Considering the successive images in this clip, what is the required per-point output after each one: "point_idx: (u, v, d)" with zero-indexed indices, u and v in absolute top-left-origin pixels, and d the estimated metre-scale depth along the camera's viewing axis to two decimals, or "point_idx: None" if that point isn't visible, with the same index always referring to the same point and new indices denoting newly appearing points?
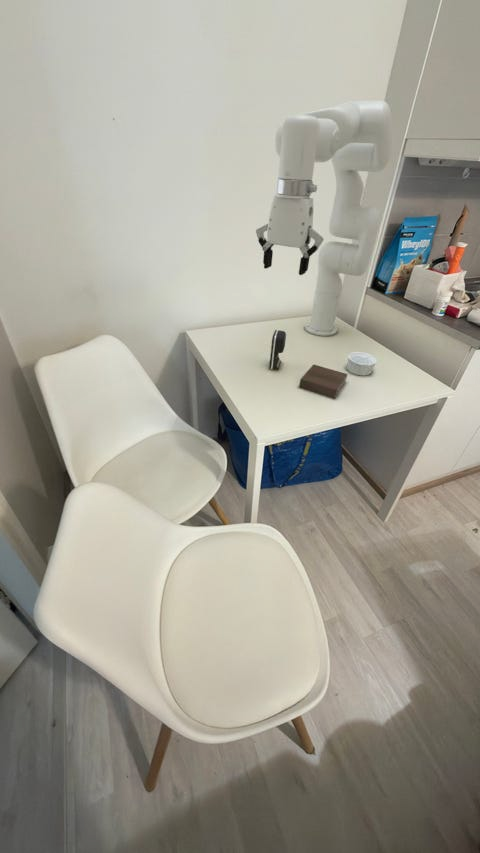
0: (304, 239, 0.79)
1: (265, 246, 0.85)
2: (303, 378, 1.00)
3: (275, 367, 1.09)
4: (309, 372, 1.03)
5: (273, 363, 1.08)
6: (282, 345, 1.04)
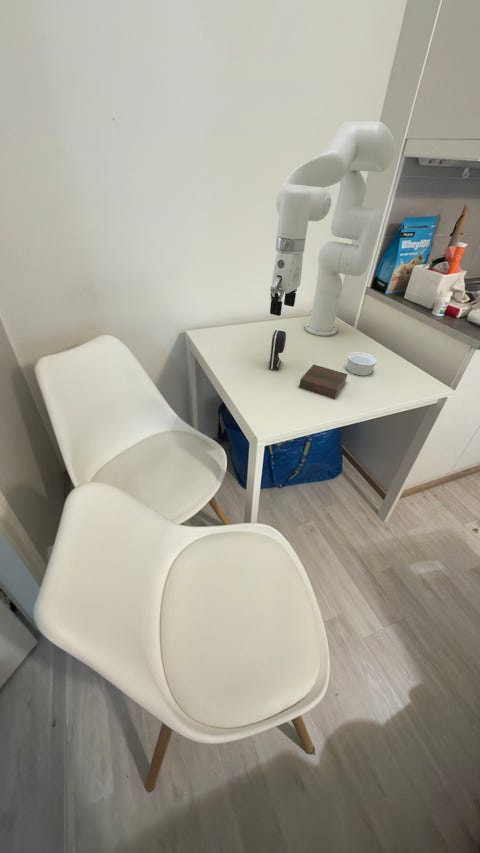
0: (272, 284, 0.92)
1: None
2: (303, 378, 1.00)
3: (275, 367, 1.09)
4: (309, 372, 1.03)
5: (273, 363, 1.08)
6: (282, 345, 1.04)
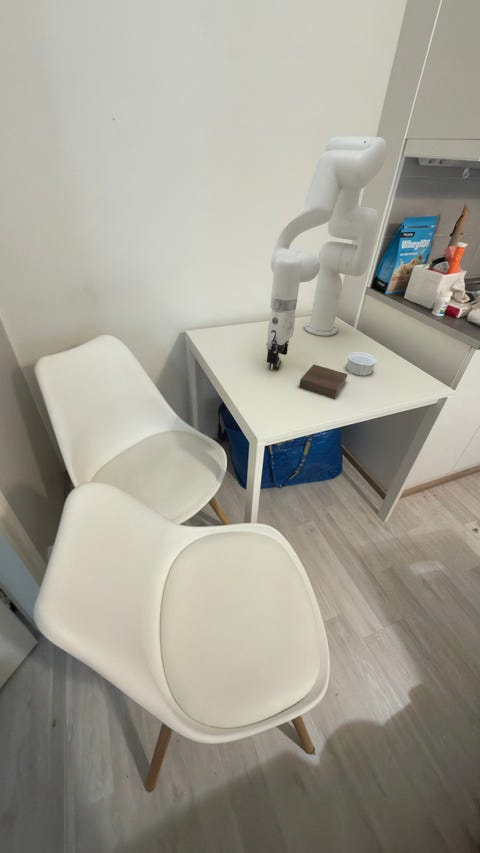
0: None
1: None
2: (303, 378, 1.00)
3: (275, 367, 1.09)
4: (309, 372, 1.03)
5: None
6: (282, 345, 1.04)
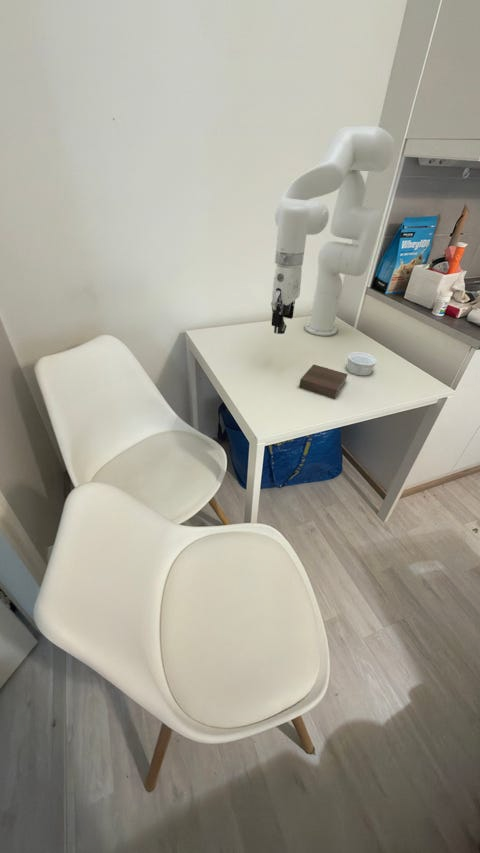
0: (272, 296, 0.95)
1: None
2: (303, 378, 1.00)
3: (280, 331, 1.02)
4: (309, 372, 1.03)
5: None
6: (288, 306, 0.97)
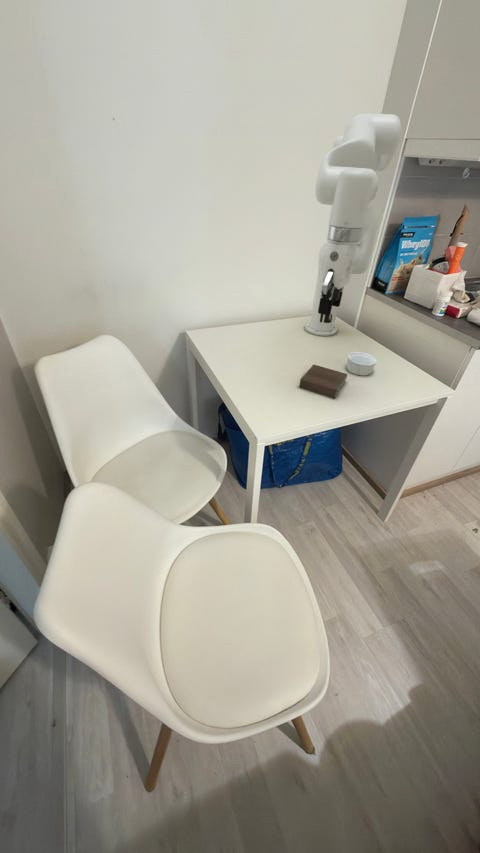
0: (322, 279, 0.83)
1: None
2: (303, 378, 1.00)
3: (327, 320, 0.90)
4: (309, 372, 1.03)
5: None
6: (339, 290, 0.85)
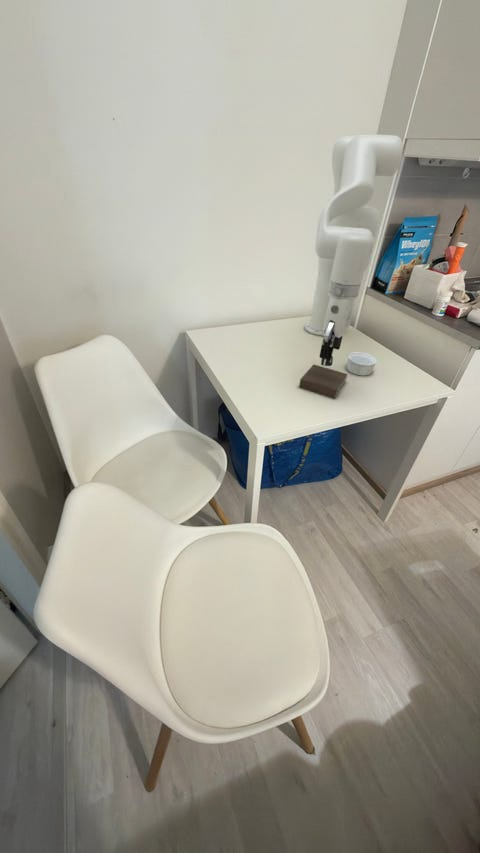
0: (323, 328, 0.89)
1: None
2: (303, 378, 1.00)
3: (328, 363, 0.96)
4: (309, 372, 1.03)
5: None
6: (339, 338, 0.91)
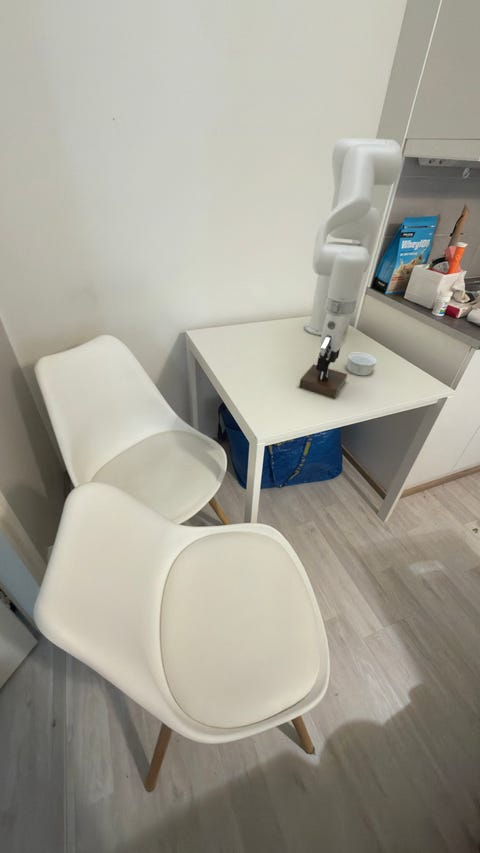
0: (320, 343, 0.92)
1: None
2: (303, 378, 1.00)
3: (325, 378, 0.99)
4: (309, 372, 1.03)
5: (323, 373, 0.98)
6: (335, 354, 0.94)
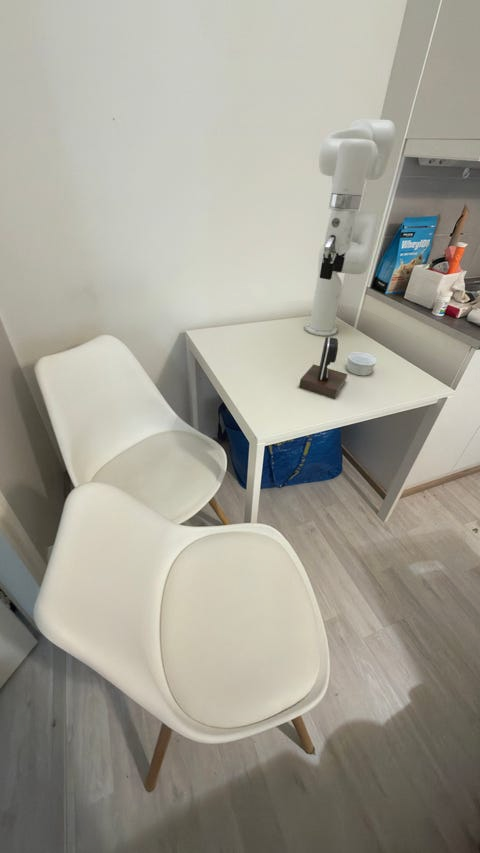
0: (324, 245, 0.89)
1: None
2: (303, 378, 1.00)
3: (325, 378, 0.99)
4: (309, 372, 1.03)
5: (323, 373, 0.98)
6: (335, 354, 0.94)
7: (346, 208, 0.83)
